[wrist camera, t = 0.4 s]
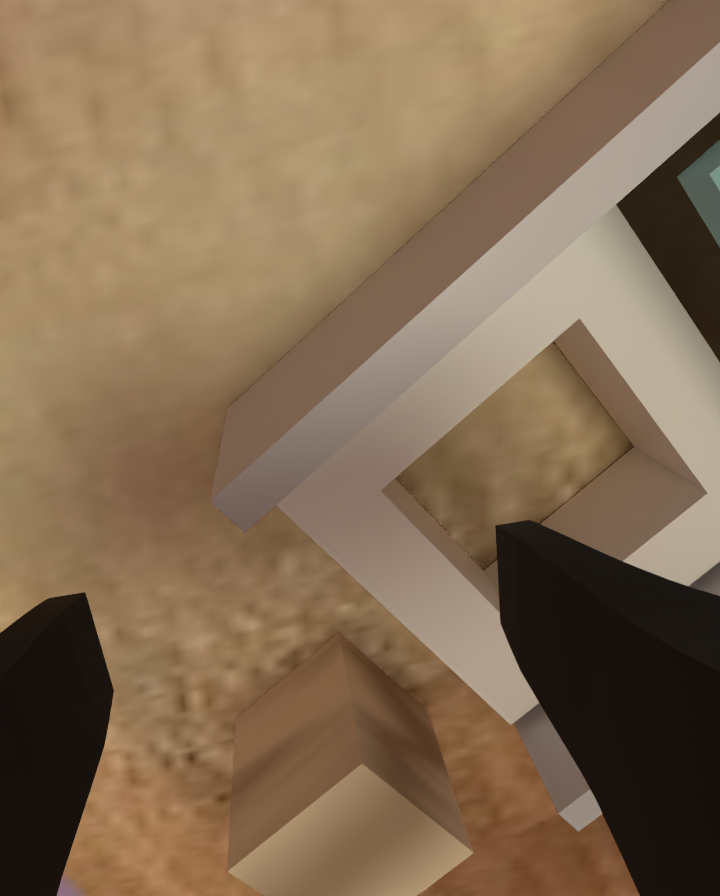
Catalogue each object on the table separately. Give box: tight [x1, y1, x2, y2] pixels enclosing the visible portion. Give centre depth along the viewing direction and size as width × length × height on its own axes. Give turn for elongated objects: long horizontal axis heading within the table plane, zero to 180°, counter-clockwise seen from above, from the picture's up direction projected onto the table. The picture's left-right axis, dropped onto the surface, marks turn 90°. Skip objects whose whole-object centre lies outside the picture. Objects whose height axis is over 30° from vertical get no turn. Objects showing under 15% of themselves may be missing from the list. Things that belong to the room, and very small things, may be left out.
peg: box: [227, 632, 474, 896], centre depth 22 cm, size 5×5×6 cm
